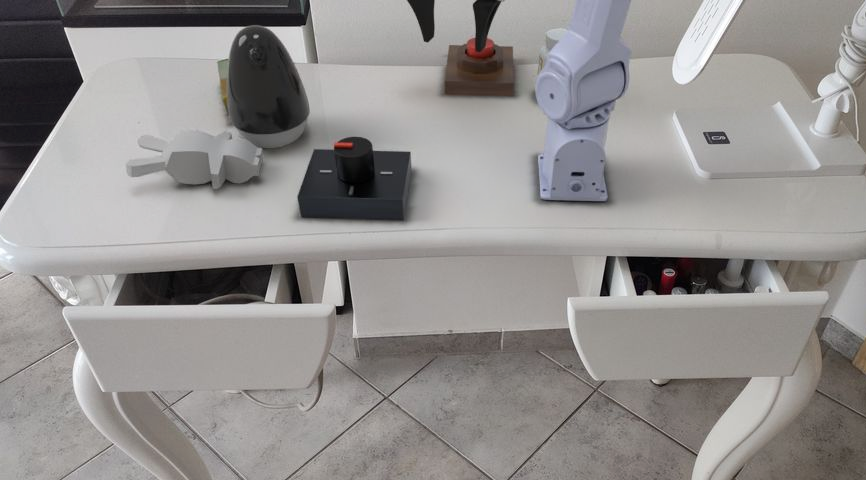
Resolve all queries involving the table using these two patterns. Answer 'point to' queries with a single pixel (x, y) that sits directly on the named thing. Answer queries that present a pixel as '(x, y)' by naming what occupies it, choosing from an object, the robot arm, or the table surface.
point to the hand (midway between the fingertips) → (454, 44)
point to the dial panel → (356, 188)
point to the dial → (354, 159)
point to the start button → (485, 53)
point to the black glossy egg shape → (265, 90)
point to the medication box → (223, 79)
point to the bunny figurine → (199, 158)
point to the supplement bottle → (550, 45)
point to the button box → (479, 72)
